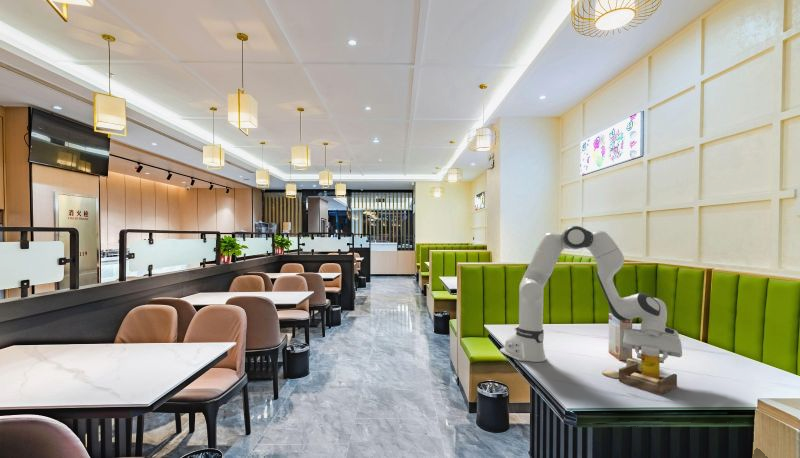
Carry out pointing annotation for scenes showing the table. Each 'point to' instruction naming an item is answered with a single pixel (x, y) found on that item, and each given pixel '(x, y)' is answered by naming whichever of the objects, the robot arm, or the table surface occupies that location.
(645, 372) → the beer glass
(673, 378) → the rack
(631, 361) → the offcut top
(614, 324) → the cracker box
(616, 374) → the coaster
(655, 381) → the offcut bottom
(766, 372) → the table surface
